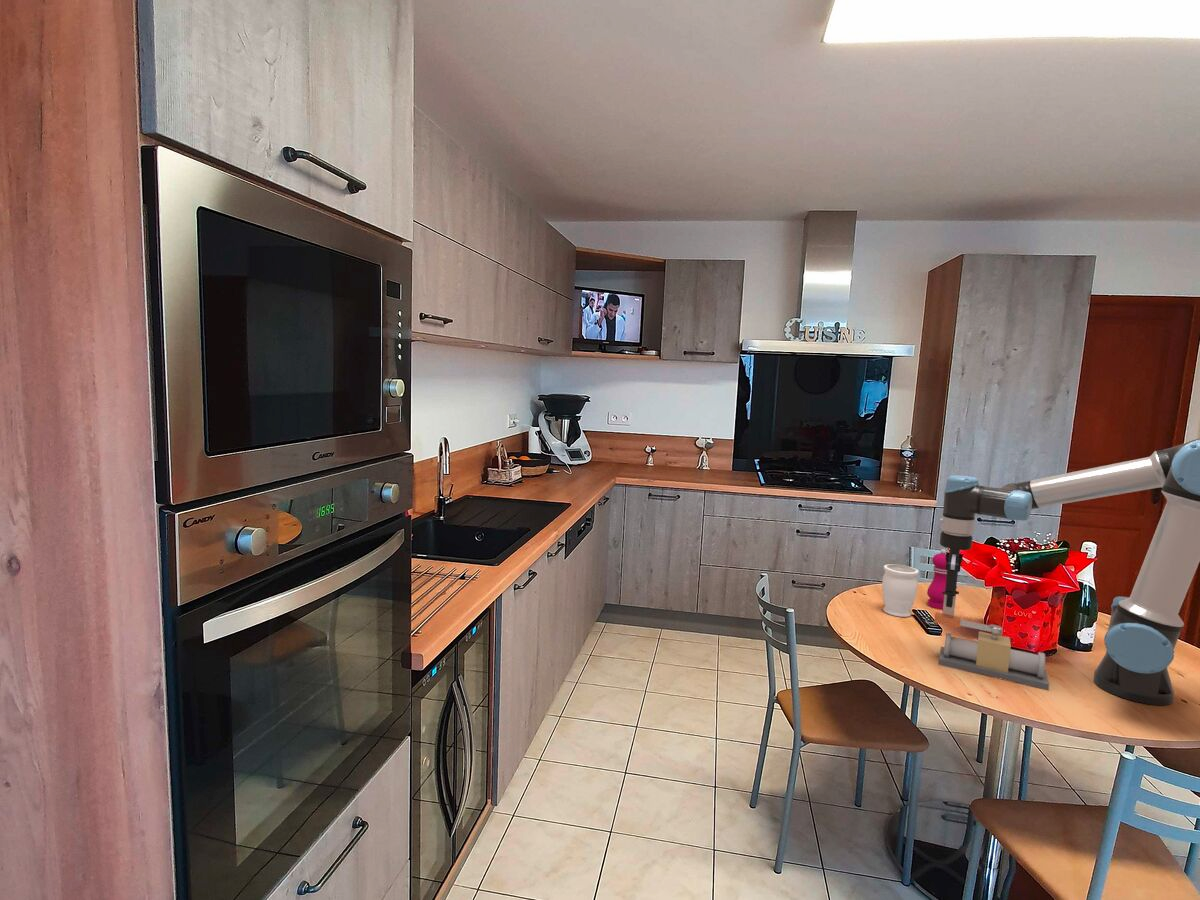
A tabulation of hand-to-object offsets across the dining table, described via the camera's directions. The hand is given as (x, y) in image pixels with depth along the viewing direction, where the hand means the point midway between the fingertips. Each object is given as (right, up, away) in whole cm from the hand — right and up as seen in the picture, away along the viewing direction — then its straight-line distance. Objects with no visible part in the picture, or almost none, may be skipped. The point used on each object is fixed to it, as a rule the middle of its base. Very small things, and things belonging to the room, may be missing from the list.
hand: (947, 617), depth 171 cm
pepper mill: (+20, -8, +42) cm, 47 cm away
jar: (+2, -8, +34) cm, 35 cm away
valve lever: (+3, -2, -4) cm, 5 cm away
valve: (+8, -12, -7) cm, 16 cm away
